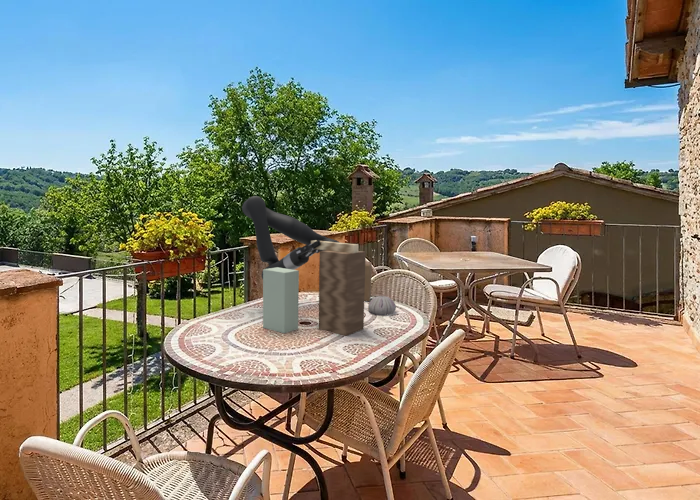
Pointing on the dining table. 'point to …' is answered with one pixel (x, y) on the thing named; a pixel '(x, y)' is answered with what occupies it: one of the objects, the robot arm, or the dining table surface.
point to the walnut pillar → (341, 291)
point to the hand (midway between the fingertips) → (322, 241)
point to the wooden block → (367, 281)
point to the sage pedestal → (280, 299)
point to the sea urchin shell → (382, 305)
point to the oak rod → (337, 246)
